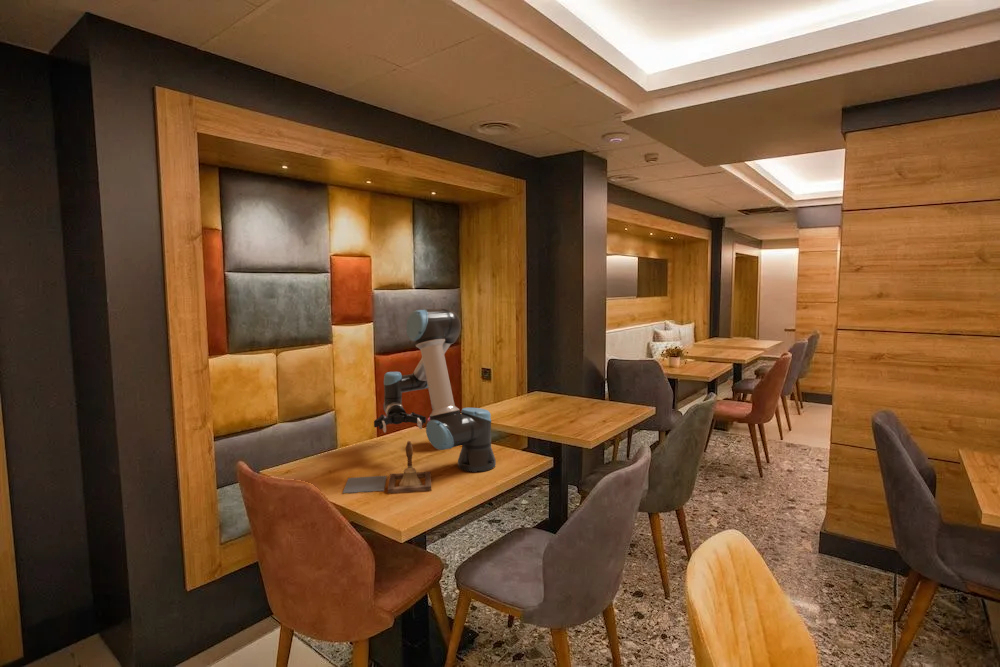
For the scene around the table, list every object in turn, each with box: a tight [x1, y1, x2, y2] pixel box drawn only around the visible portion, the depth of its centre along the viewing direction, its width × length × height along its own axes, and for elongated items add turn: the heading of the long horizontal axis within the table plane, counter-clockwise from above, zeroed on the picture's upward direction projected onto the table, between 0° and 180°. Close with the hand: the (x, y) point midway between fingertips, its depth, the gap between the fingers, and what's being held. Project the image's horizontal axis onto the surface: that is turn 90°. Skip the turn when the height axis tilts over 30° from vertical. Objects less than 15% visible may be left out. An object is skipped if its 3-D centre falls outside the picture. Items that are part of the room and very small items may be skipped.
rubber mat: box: [342, 475, 388, 494], centre depth 185 cm, size 14×14×1 cm
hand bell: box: [398, 440, 423, 487], centre depth 185 cm, size 8×8×16 cm
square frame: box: [387, 471, 432, 494], centre depth 186 cm, size 15×15×2 cm
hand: (403, 427), depth 194 cm, fingers open, 13 cm apart
